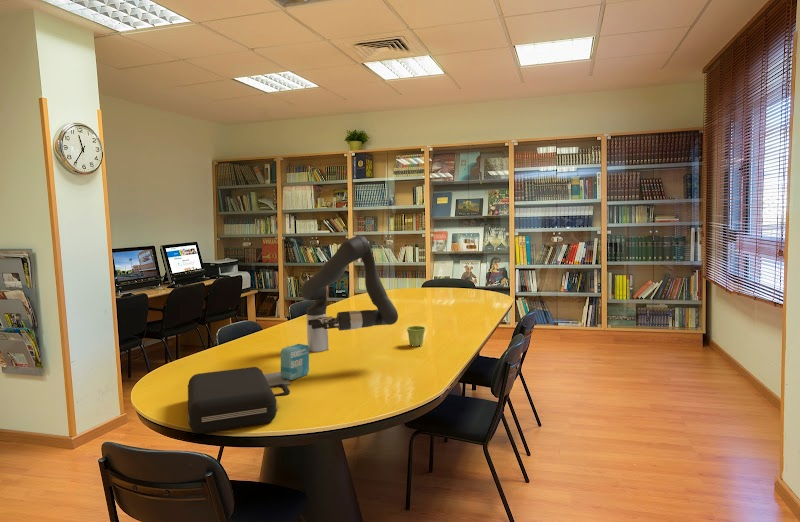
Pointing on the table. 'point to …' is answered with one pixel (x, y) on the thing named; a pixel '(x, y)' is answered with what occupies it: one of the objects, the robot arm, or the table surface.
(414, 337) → the plant pot
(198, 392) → the briefcase
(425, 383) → the table surface
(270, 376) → the mat
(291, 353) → the data package
